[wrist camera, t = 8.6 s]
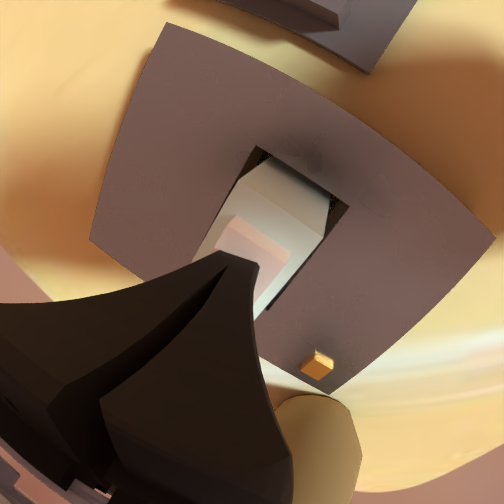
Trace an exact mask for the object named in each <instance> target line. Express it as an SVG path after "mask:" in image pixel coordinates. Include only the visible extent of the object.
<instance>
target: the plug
mask: <svg viewBox="0 0 504 504" xmlns="http://www.w3.org/2000/svg"><path fill="white" fill-rule="evenodd" d="M330 196H331V193H330V192H328V191H327V190H326V189H324V188H323V187H321V186H320V185H318V184H317V183H315V182H314V181H312V180H311V179H309V178H308V177H306V176H305V175H303V174H302V173H300V172H298V171H297V170H295V169H294V168H292V167H291V166H289V165H288V164H286V163H284V162H283V161H281V160H280V159H278V158H276V157H275V156H273V155H272V156H271V157H270V158H268V159H267V160H265V161H264V162H263V163H261V164H260V165H258V166H257V167H256V168H254V169H253V170H251V171H250V172H249V173H247V174H246V175H244V176H243V177H242V178H240V179H239V180H238V182H237V183H236V185H235V187H234V188H233V190H232V192H231V193H230V195H229V197H228V198H227V200H226V202H225V204H224V205H223V207H222V209H221V210H220V212H219V214H218V216H217V217H216V219H215V221H214V223H213V224H212V226H211V228H210V230H209V231H208V233H207V235H206V237H205V238H204V240H203V242H202V244H201V246H200V247H199V249H198V251H197V253H196V254H195V256H194V258H193V260H192V262H191V263H193V262H195V261H197V260H199V259H201V258H203V257H205V256H208V255H210V254H212V253H214V252H216V251H218V250H221V251H224V252H227V253H230V254H233V255H236V256H239V257H242V258H245V259H248V260H251V261H254V262H257V263H258V264H259V266H260V269H259V273H258V277H257V280H256V284H255V288H254V299H253V316H254V320H255V319H256V318H257V316H258V315H259V314H260V313H261V312H262V311H263V310H264V308H265V307H266V306H267V305H268V304H269V303H270V301H271V300H272V299H273V298H274V297H275V295H276V294H277V293H278V292H279V291H280V290H281V288H282V287H283V286H284V285H285V284H286V282H287V281H288V280H289V279H290V278H291V276H292V275H293V274H294V273H295V272H296V270H297V269H298V268H299V267H300V266H301V264H302V263H303V262H304V261H305V260H306V258H307V257H308V256H309V255H310V253H311V252H312V251H313V250H314V249H315V247H316V246H317V245H318V244H319V242H320V241H321V240H322V239H323V236H324V231H325V225H326V220H327V214H328V208H329V202H330ZM191 263H190V264H191Z"/></svg>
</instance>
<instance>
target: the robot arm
mask: <svg viewBox="0 0 504 504" xmlns="http://www.w3.org/2000/svg"><path fill="white" fill-rule="evenodd" d="M259 269H260V266H259V264H258V263H257V262H254V261H251V260H248V259H245V258H242V257H239V256H236V255H233V254H230V253H227V252H224V251H221V250H218V251H216V252H214V253H212V254H210V255H208V256H205V257H203V258H201V259H199V260H197V261H195V262H193V263H191V264H188V265H186V266H184V267H182V268H180V269H177V270H175V271H173V272H170V273H168V274H165V275H163V276H160V277H157V278H155V279H152V280H150V281H147V282H144V283H141V284H138V285H135V286H132V287H129V288H125V289H121V290H118V291H114V292H110V293H105V294H100V295H95V296H90V297H85V298H80V299H74V300H66V301H57V302H46V303H15V304H14V303H12V304H10V303H6V304H5V303H0V446H1V447H2V448H3V449H4V450H5V451H6V452H8V454H10V455H11V456H12V457H13V458H14V459H15V460H16V461H17V462H18V463H20V464H21V465H22V466H23V467H24V468H25V469H27V470H28V471H29V472H30V473H31V474H33V475H34V476H35V477H36V478H37V479H39V480H40V481H41V482H42V483H44V484H45V485H46V486H48V487H49V488H50V489H52V490H53V491H54V492H56V493H57V494H58V495H60V496H61V497H63V498H64V499H65V500H67V501H69V502H70V503H71V504H292V502H293V493H294V471H293V457H292V453H291V451H290V448H289V446H288V444H287V442H286V440H285V438H284V435H283V433H282V431H281V428H280V426H279V423H278V421H277V418H276V416H275V413H274V410H273V407H272V405H271V402H270V399H269V395H268V392H267V388H266V385H265V381H264V378H263V374H262V371H261V366H260V362H259V357H258V351H257V345H256V339H255V330H254V316H253V299H254V288H255V284H256V280H257V277H258V273H259ZM19 478H20V474H19V473H18V472H17V471H16V470H15V469H14V468H13V467H12V466H11V465H10V464H9V463H8V462H6V461H5V460H4V459H3V458H2V457H1V456H0V504H38V503H37V502H35V501H34V500H33V499H31V498H30V497H29V496H28V495H26V494H25V493H24V492H23V491H22V490H20V489H19V488H18V487H17V486H16V485H15V483H16V482H17V480H18V479H19ZM95 488H96V489H98V490H100V491H101V492H103V493H105V494H106V493H108V494H110V495H112V497H111V499H109V498H107V497H105V496H103V495H101V494H100V493H98V492H97V491H95V490H94V489H95Z"/></svg>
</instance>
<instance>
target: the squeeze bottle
mask: <svg viewBox="0 0 504 504" xmlns="http://www.w3.org/2000/svg"><path fill="white" fill-rule="evenodd" d="M274 413H275V416H276V418H277V421H278V423H279V426H280V428H281V431H282V433H283V435H284V438H285V440H286V442H287V444H288V446H289V448H290V451H291V453H292V457H293V471H294V493H293V502H292V504H351V500H352V497H353V493H354V489H355V485H356V481H357V477H358V473H359V469H360V465H361V460H362V451H361V447H360V443H359V440H358V437H357V433H356V430H355V427H354V424H353V420H352V417H351V414H350V411H349V410H348V409H347V408H346V407H345V406H344V405H343V404H342V403H340V402H338V401H335V400H333V399H331V398H328V397H322V396H316V395H305V396H296V397H293V398H290V399H287V400H285V401H284V402H283V403H282V404H281V405H280V406H279V407H278V408H277V409H276V410H275V411H274Z"/></svg>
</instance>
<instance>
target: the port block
mask: <svg viewBox="0 0 504 504" xmlns="http://www.w3.org/2000/svg"><path fill="white" fill-rule="evenodd" d="M264 151H267V152H268V153H270V154H272V155H273V156H275V157H276V158H278V159H280V160H281V161H283V162H284V163H286V164H288V165H289V166H291V167H292V168H294V169H295V170H297V171H298V172H300V173H302V174H303V175H305V176H306V177H308V178H309V179H311V180H312V181H314V182H315V183H317V184H318V185H320V186H321V187H323V188H324V189H326V190H327V191H328V192H330V193H331V194H333V195H334V196H336V197H337V198H339V199H340V200H339V202H338V203H337V204H336V206H335V207H334V208H333V210H332V211H331V212H330V214H329V215H328V217H327V220H326V225H325V231H324V236H323V239H322V240H321V241H320V242H319V244H318V245H317V246H316V247H315V249H314V250H313V251H312V252H311V253H310V255H309V256H308V257H307V258H306V260H305V261H304V262H303V263H302V264H301V266H300V267H299V268H298V269H297V270H296V272H295V273H294V274H293V275H292V276H291V278H290V279H289V280H288V281H287V282H286V284H285V285H284V286H283V287H282V288H281V290H280V291H279V292H278V293H277V294H276V295H275V297H274V298H273V299H272V300H271V301H270V303H269V304H268V305H267V306H266V307H265V308H264V310H263V311H262V312H261V313H260V314H259V315H258V316H257V318H256V319H255V320H254V330H255V339H256V345H257V351H258V356H260V357H262V358H263V359H265V360H267V361H268V362H270V363H272V364H274V365H275V366H277V367H279V368H280V369H282V370H284V371H286V372H288V373H289V374H291V375H293V376H295V377H296V378H298V379H300V380H302V381H304V382H305V383H307V384H309V385H311V386H313V387H315V388H317V389H318V390H320V391H322V392H324V393H326V394H328V395H329V394H331V393H332V392H334V391H335V390H336V389H338V388H339V387H340V386H342V385H343V384H344V383H346V382H347V381H348V380H350V379H351V378H352V377H354V376H355V375H356V374H358V373H359V372H360V371H362V370H363V369H364V368H365V367H367V366H368V365H369V364H370V363H372V362H373V361H374V360H375V359H377V358H378V357H379V356H380V355H381V354H383V353H384V352H385V351H386V350H387V349H389V348H390V347H391V346H392V345H393V344H394V343H396V342H397V341H398V340H399V339H400V338H401V337H402V336H404V335H405V334H406V333H407V332H408V331H409V330H410V329H411V328H412V327H413V326H415V325H416V324H417V323H418V322H419V321H420V320H421V319H422V318H423V317H424V316H425V315H426V314H427V313H428V312H429V311H430V310H431V309H433V308H434V307H435V306H436V305H437V304H438V303H439V302H440V301H441V300H442V299H443V298H444V297H445V296H446V295H447V293H448V292H449V291H450V290H451V289H452V288H453V287H454V286H455V285H456V284H457V283H458V282H459V281H460V280H461V279H462V278H463V277H464V275H465V274H466V273H467V272H468V271H469V270H470V269H471V268H472V267H473V265H474V264H475V263H476V262H477V261H478V260H479V259H480V257H481V256H482V255H483V254H484V253H485V251H486V250H487V249H488V248H489V247H490V245H491V244H492V243H493V242H494V241H495V239H496V238H495V236H494V235H493V234H492V233H491V232H490V231H489V230H488V229H487V228H486V227H485V226H484V225H483V224H482V223H481V222H480V221H479V219H478V218H477V217H476V216H475V215H474V214H473V213H472V212H471V211H470V210H469V209H468V208H467V207H466V206H465V205H463V204H462V203H461V202H460V201H459V200H458V199H457V198H456V197H455V196H454V195H453V194H452V193H451V192H450V191H449V190H448V189H446V188H445V187H444V186H443V185H442V184H441V183H440V182H439V181H438V180H436V179H435V178H434V177H433V176H432V175H431V174H430V173H428V172H427V171H426V170H425V169H424V168H422V167H421V166H420V165H419V164H418V163H416V162H415V161H414V160H413V159H412V158H410V157H409V156H408V155H407V154H405V153H404V152H403V151H402V150H400V149H399V148H398V147H396V146H395V145H394V144H393V143H391V142H390V141H389V140H387V139H386V138H385V137H383V136H382V135H380V134H379V133H378V132H376V131H375V130H374V129H372V128H371V127H369V126H368V125H367V124H365V123H364V122H362V121H361V120H359V119H358V118H356V117H355V116H353V115H352V114H351V113H349V112H347V111H346V110H344V109H343V108H341V107H340V106H338V105H337V104H335V103H334V102H332V101H330V100H329V99H327V98H326V97H324V96H322V95H321V94H319V93H317V92H316V91H314V90H312V89H311V88H309V87H307V86H306V85H304V84H302V83H300V82H299V81H297V80H295V79H293V78H291V77H290V76H288V75H286V74H284V73H282V72H280V71H279V70H277V69H275V68H273V67H271V66H269V65H267V64H265V63H263V62H261V61H259V60H257V59H255V58H253V57H251V56H249V55H247V54H245V53H242V52H240V51H238V50H236V49H234V48H232V47H229V46H227V45H225V44H222V43H220V42H218V41H215V40H213V39H211V38H208V37H206V36H203V35H201V34H198V33H196V32H193V31H190V30H188V29H185V28H182V27H180V26H177V25H174V24H171V23H168V22H166V24H165V26H164V28H163V30H162V32H161V34H160V36H159V38H158V40H157V42H156V44H155V46H154V48H153V50H152V52H151V54H150V56H149V58H148V61H147V63H146V65H145V67H144V70H143V72H142V74H141V76H140V79H139V81H138V83H137V86H136V88H135V91H134V93H133V96H132V98H131V101H130V103H129V106H128V108H127V111H126V114H125V116H124V119H123V122H122V125H121V127H120V130H119V133H118V136H117V139H116V142H115V145H114V148H113V151H112V154H111V157H110V161H109V164H108V167H107V171H106V174H105V177H104V181H103V185H102V188H101V192H100V196H99V199H98V203H97V207H96V211H95V216H94V220H93V224H92V229H91V233H90V238H89V240H90V241H92V242H93V243H94V244H95V245H97V246H98V247H99V248H101V249H102V250H103V251H104V252H106V253H107V254H108V255H110V256H111V257H112V258H114V259H115V260H116V261H118V262H119V263H120V264H122V265H123V266H124V267H126V268H127V269H128V270H130V271H131V272H132V273H134V274H135V275H137V276H138V277H139V278H141V279H142V280H144V281H145V282H147V281H150V280H152V279H155V278H157V277H160V276H163V275H165V274H168V273H170V272H173V271H175V270H177V269H180V268H182V267H184V266H186V265H188V264H190V263H191V262H192V260H193V258H194V256H195V254H196V253H197V251H198V249H199V247H200V246H201V244H202V242H203V240H204V238H205V237H206V235H207V233H208V231H209V230H210V228H211V226H212V224H213V223H214V221H215V219H216V217H217V216H218V214H219V212H220V210H221V209H222V207H223V205H224V204H225V202H226V200H227V198H228V197H229V195H230V193H231V192H232V190H233V188H234V187H235V185H236V183H237V182H238V180H239V179H240V178H242V177H243V176H244V175H246V174H247V173H249V172H250V171H251V170H253V169H254V168H255V166H256V165H257V163H258V161H259V159H260V158H261V156H262V154H263V153H264Z"/></svg>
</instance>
